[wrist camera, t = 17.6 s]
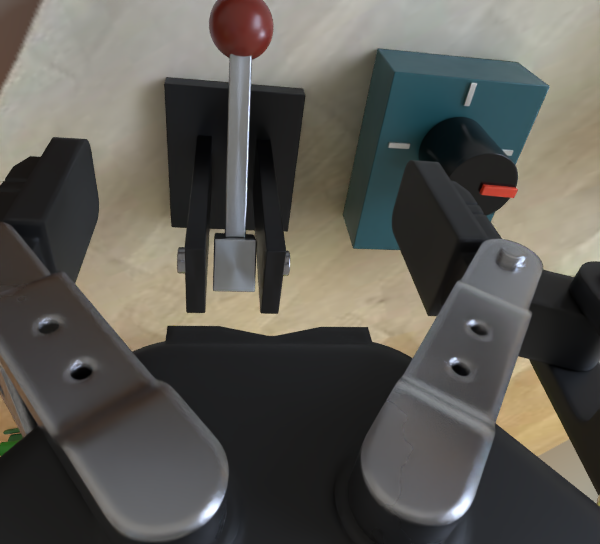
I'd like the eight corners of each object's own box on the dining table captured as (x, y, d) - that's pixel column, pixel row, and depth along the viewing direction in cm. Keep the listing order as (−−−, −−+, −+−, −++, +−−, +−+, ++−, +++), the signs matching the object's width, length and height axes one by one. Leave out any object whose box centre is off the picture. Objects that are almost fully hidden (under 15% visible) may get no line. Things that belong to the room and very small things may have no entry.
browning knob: (409, 175, 34) (434, 219, 30) (431, 112, 31) (461, 151, 27) (469, 181, 35) (501, 225, 31) (495, 120, 32) (533, 160, 28)
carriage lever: (210, -2, 26) (208, -25, 23) (271, 5, 27) (278, -16, 24) (205, 279, 29) (203, 293, 26) (260, 280, 30) (264, 294, 26)
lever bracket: (166, 76, 32) (135, 186, 22) (303, 88, 34) (336, 196, 23) (172, 218, 39) (152, 353, 29) (286, 223, 41) (306, 353, 30)
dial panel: (377, 48, 33) (395, 72, 29) (518, 62, 34) (551, 87, 31) (342, 215, 41) (353, 250, 37) (457, 220, 42) (478, 254, 39)
